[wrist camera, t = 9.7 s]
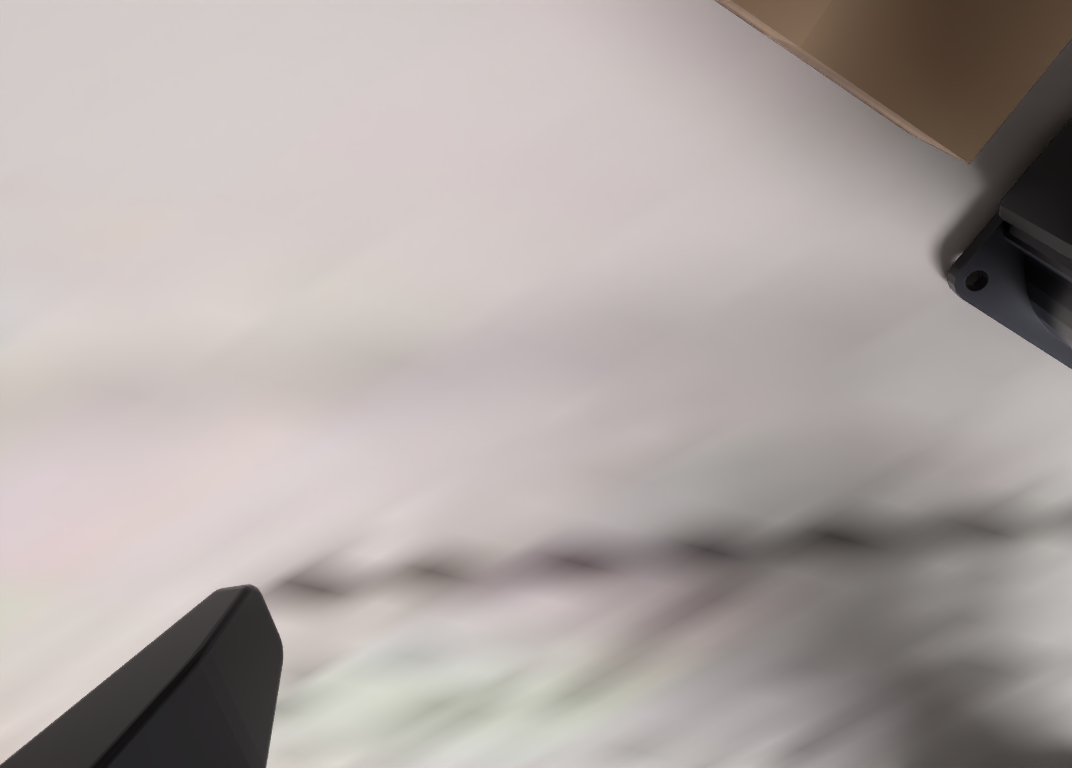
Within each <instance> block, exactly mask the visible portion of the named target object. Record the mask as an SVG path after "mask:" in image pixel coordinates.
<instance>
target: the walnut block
mask: <svg viewBox="0 0 1072 768" xmlns="http://www.w3.org/2000/svg"><path fill="white" fill-rule="evenodd" d="M715 1H716V2H718V3H719V4H721V5H722V6H724V7H725V8H727V9H728V10H730V11H731V12H733V13H734V14H736V15H737V16H738V17H740V18H741V19H743V20H744V21H746V22H747V23H749V24H750V25H752V26H753V27H755V28H756V29H757V30H759V31H760V32H762V33H763V34H765V35H766V36H768V37H769V38H771V39H772V40H774V41H775V42H776V43H778V44H779V45H781V46H782V47H784V48H785V49H787V50H788V51H790V52H791V53H793V54H794V55H796V56H797V57H798V58H800V59H801V60H803V61H804V62H806V63H807V64H809V65H810V66H812V67H813V68H815V69H816V70H817V71H819V72H820V73H822V74H823V75H825V76H826V77H828V78H829V79H831V80H832V81H834V82H835V83H836V84H838V85H839V86H841V87H842V88H844V89H845V90H847V91H848V92H850V93H851V94H853V95H854V96H855V97H857V98H858V99H860V100H861V101H863V102H864V103H866V104H867V105H869V106H870V107H872V108H873V109H875V110H876V111H877V112H879V113H880V114H882V115H883V116H885V117H886V118H888V119H889V120H891V121H892V122H894V123H895V124H896V125H898V126H899V127H901V128H902V129H904V130H905V131H907V132H908V133H910V134H911V135H913V136H915V137H917V138H919V139H921V140H923V141H925V142H927V143H929V144H931V145H933V146H935V147H937V148H939V149H941V150H943V151H945V152H947V153H949V154H951V155H953V156H955V157H957V158H959V159H961V160H963V161H965V162H966V163H968V164H970V162H971V161H972V160H973V159H974V158H975V156H976V155H977V154H978V153H979V151H980V150H981V149H982V148H983V147H984V145H985V144H986V143H987V142H988V140H989V139H990V138H991V137H992V136H993V134H994V133H995V132H996V131H997V129H998V128H999V127H1000V126H1001V124H1002V123H1003V122H1004V121H1005V120H1006V118H1007V117H1008V116H1009V115H1010V113H1011V112H1012V111H1013V110H1014V109H1015V107H1016V106H1017V105H1018V104H1019V102H1020V101H1021V100H1022V99H1023V98H1024V96H1025V95H1026V94H1027V93H1028V91H1029V90H1030V89H1031V88H1032V87H1033V85H1034V84H1035V83H1036V82H1037V80H1038V79H1039V78H1040V77H1041V75H1042V74H1043V73H1044V72H1045V71H1046V69H1047V68H1048V67H1049V66H1050V64H1051V63H1052V62H1053V61H1054V60H1055V58H1056V57H1057V56H1058V55H1059V53H1060V52H1061V51H1062V50H1063V49H1064V47H1065V46H1066V45H1067V44H1068V42H1069V41H1070V40H1071V39H1072V0H715Z"/></svg>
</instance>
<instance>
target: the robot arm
mask: <svg viewBox="0 0 1072 768" xmlns="http://www.w3.org/2000/svg"><path fill="white" fill-rule="evenodd" d="M978 270H981V276H980V277H979V279H978V281H977V282H975V283H974V284H972V285H967V286H966V279H967V277H968V275H970V274H971V273H972V272H974V271H978ZM947 281H948V284H949V287H950V288H951V289H952V290H953V291H954V292H955V293H956V294H957V295H958V296H959V297H960V298H962V299H963V300H965V301H966V302H968V303H969V304H971V305H973V306H974V307H976V308H977V309H979V310H980V311H982V312H983V313H985V314H987V315H988V316H990V317H991V318H993V319H994V320H996V321H998V322H999V323H1001V324H1002V325H1004V326H1005V327H1007V328H1008V329H1010V330H1012V331H1013V332H1015V333H1016V334H1018V335H1019V336H1021V337H1022V338H1024V339H1026V340H1027V341H1029V342H1030V343H1032V344H1033V345H1035V346H1037V347H1038V348H1040V349H1041V350H1043V351H1044V352H1046V353H1047V354H1049V355H1051V356H1052V357H1054V358H1055V359H1057V360H1058V361H1060V362H1061V363H1063V364H1065V365H1066V366H1068V367H1069V368H1071V369H1072V118H1071V119H1070V120H1069V121H1068V122H1067V124H1066V125H1065V126H1064V127H1063V128H1062V129H1061V131H1060V132H1059V133H1058V134H1057V135H1056V137H1055V138H1054V139H1053V140H1052V141H1051V142H1050V144H1049V145H1048V146H1047V147H1046V148H1045V150H1044V151H1043V152H1042V153H1041V154H1040V155H1039V157H1038V158H1037V159H1036V160H1035V161H1034V162H1033V164H1032V165H1031V166H1030V167H1029V168H1028V170H1027V171H1026V172H1025V173H1024V174H1023V175H1022V177H1021V178H1020V179H1019V180H1018V181H1017V182H1016V184H1015V185H1014V186H1013V187H1012V188H1011V190H1010V191H1009V192H1008V193H1007V194H1006V195H1005V197H1004V198H1003V199H1002V200H1001V202H1000V206H999V211H998V212H997V214H996V215H995V216H994V217H993V218H992V220H991V221H990V222H989V223H988V224H987V225H986V227H985V228H984V229H983V230H982V231H981V232H980V234H979V235H978V236H977V237H976V238H975V239H974V241H973V242H972V243H971V244H970V245H969V246H968V248H967V249H966V250H965V251H964V252H963V254H962V255H961V256H960V257H959V258H958V259H957V261H956V262H955V263H954V264H953V266H952V267H951V269H950V271H949V273H948V279H947ZM282 665H283V646H282V642H281V638H280V636H279V633H278V631H277V629H276V626H275V624H274V621H273V619H272V617H271V614H270V612H269V610H268V607H267V605H266V603H265V600H264V598H263V596H262V594H261V592H260V590H259V589H258V588H257V587H255V586H253V585H251V584H248V585H241V586H234V587H227V588H221V589H218V590H216V591H215V592H213V593H212V594H211V595H209V596H208V597H207V598H206V599H205V600H203V601H202V602H201V603H200V604H198V605H197V606H196V607H195V608H193V609H192V610H191V611H190V612H188V613H187V614H186V615H185V616H184V617H182V618H181V619H180V620H179V621H177V622H176V623H175V624H174V625H172V626H171V627H170V628H169V629H168V630H166V631H165V632H164V633H163V634H161V635H160V636H159V637H158V638H156V639H155V640H154V641H153V642H151V643H150V644H149V645H148V646H147V647H145V648H144V649H143V650H142V651H140V652H139V653H138V654H137V655H135V656H134V657H133V658H132V659H130V660H129V661H128V662H127V663H126V664H124V665H123V666H122V667H121V668H119V669H118V670H117V671H116V672H114V673H113V674H112V675H111V676H109V677H108V678H107V679H106V680H105V681H103V682H102V683H101V684H100V685H98V686H97V687H96V688H95V689H93V690H92V691H91V692H90V693H89V694H87V695H86V696H85V697H84V698H82V699H81V700H80V701H79V702H77V703H76V704H75V705H74V706H72V707H71V708H70V709H69V710H68V711H66V712H65V713H64V714H63V715H61V716H60V717H59V718H58V719H56V720H55V721H54V722H53V723H51V724H50V725H49V726H48V727H47V728H45V729H44V730H43V731H42V732H40V733H39V734H38V735H37V736H35V737H34V738H33V739H32V740H31V741H29V742H28V743H27V744H26V745H24V746H23V747H22V748H21V749H19V750H18V751H17V752H16V753H14V754H13V755H12V756H11V757H10V758H8V759H7V760H6V761H5V762H3V763H2V764H1V765H0V768H266V765H267V759H268V753H269V746H270V740H271V734H272V728H273V721H274V715H275V709H276V702H277V696H278V690H279V684H280V677H281V671H282Z"/></svg>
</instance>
